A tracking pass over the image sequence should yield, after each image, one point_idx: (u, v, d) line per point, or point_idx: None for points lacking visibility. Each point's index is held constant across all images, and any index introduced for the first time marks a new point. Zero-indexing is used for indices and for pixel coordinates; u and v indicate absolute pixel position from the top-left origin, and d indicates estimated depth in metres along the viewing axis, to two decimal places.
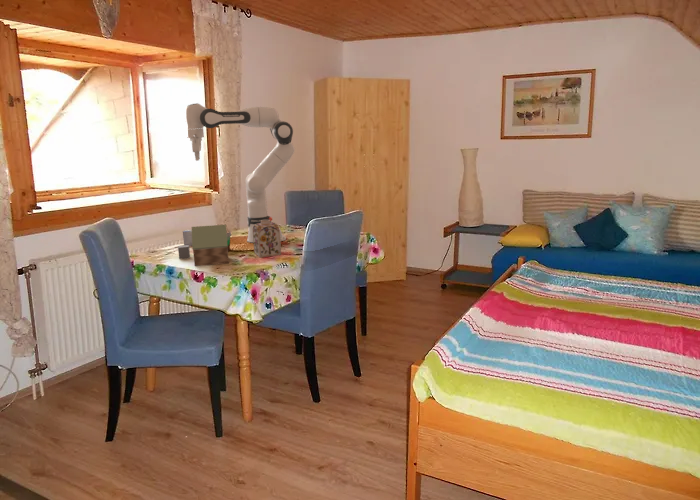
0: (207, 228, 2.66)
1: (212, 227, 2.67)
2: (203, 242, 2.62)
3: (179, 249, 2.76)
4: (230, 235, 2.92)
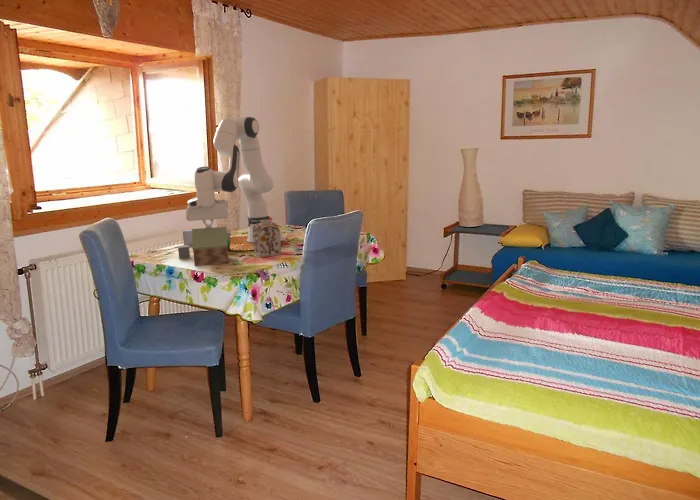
0: (207, 230, 2.68)
1: (212, 229, 2.68)
2: (203, 243, 2.63)
3: (179, 249, 2.76)
4: (230, 235, 2.92)
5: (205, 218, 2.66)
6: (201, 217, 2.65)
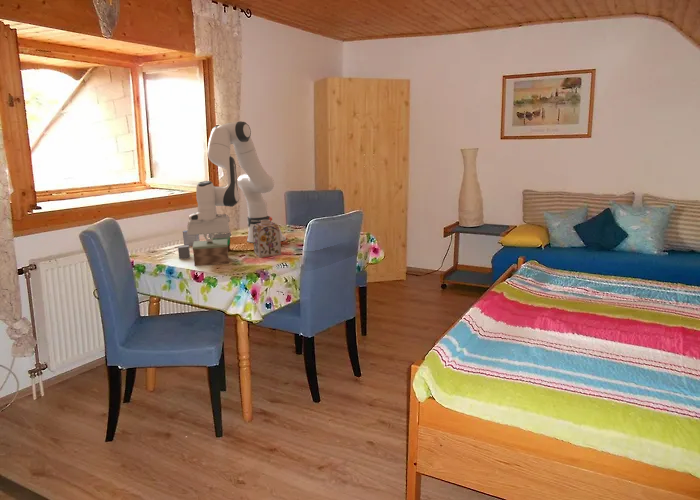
0: None
1: (213, 240, 2.73)
2: (204, 245, 2.64)
3: (179, 249, 2.76)
4: (230, 235, 2.92)
5: (206, 232, 2.66)
6: (202, 231, 2.65)
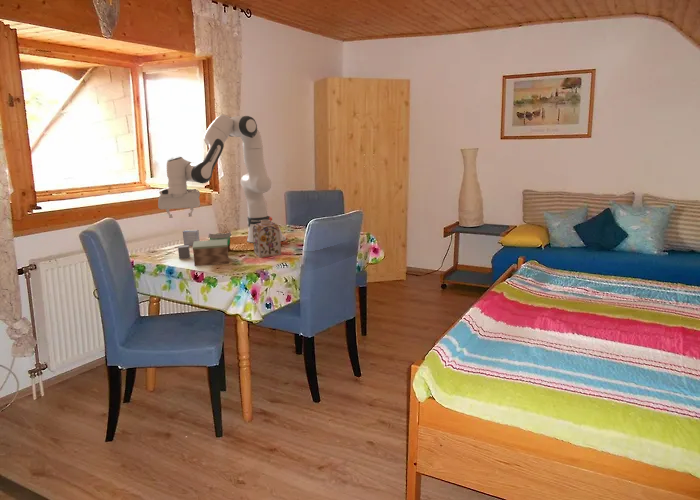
0: (209, 241, 2.72)
1: (213, 240, 2.73)
2: (204, 245, 2.64)
3: (179, 249, 2.76)
4: (230, 235, 2.92)
5: (177, 207, 2.72)
6: (173, 206, 2.72)
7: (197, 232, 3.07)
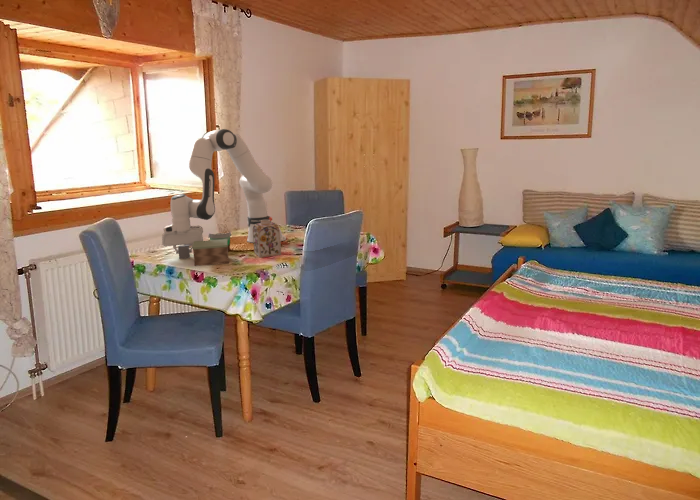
0: (209, 241, 2.72)
1: (213, 240, 2.73)
2: (204, 245, 2.64)
3: (179, 249, 2.76)
4: (230, 235, 2.92)
5: (180, 243, 2.77)
6: (177, 242, 2.76)
7: None
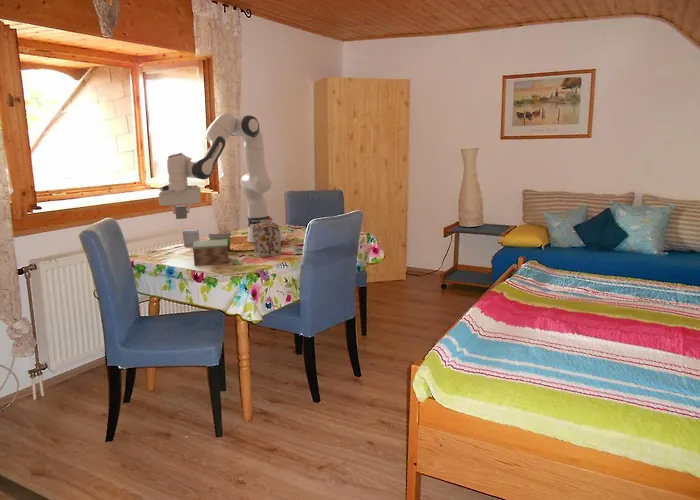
0: (209, 241, 2.72)
1: (213, 240, 2.73)
2: (204, 245, 2.64)
3: (176, 209, 2.71)
4: (230, 235, 2.92)
5: (177, 203, 2.72)
6: (173, 202, 2.71)
7: (197, 232, 3.07)
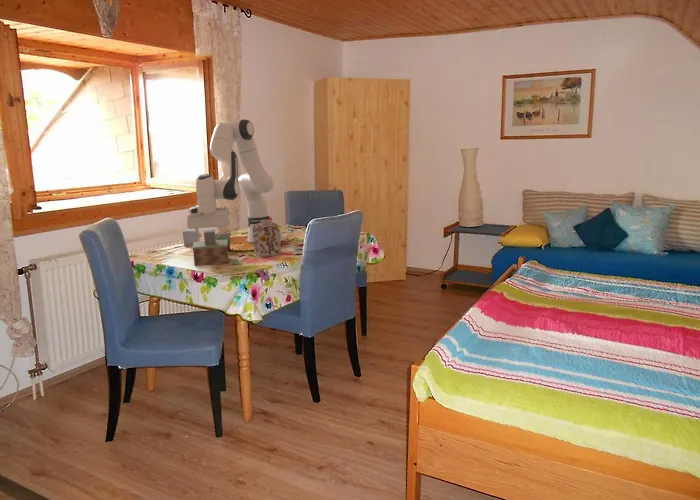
0: None
1: None
2: (204, 245, 2.64)
3: (205, 234, 2.64)
4: (230, 235, 2.92)
5: (206, 226, 2.64)
6: (202, 225, 2.63)
7: None
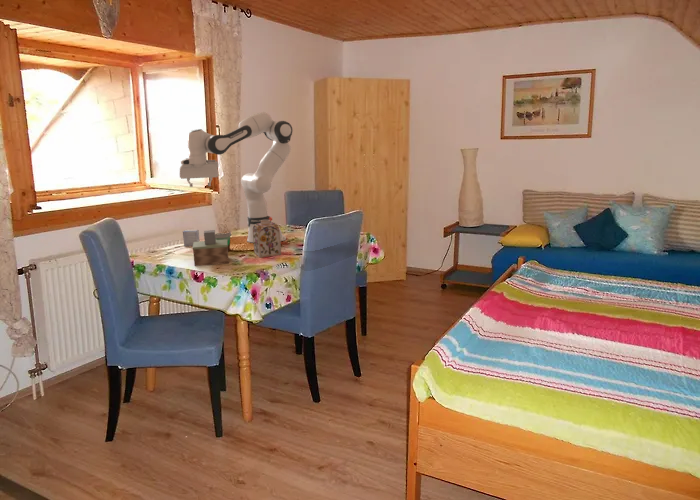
0: None
1: None
2: (204, 245, 2.64)
3: (205, 234, 2.64)
4: (230, 235, 2.92)
5: (197, 176, 2.91)
6: (193, 175, 2.90)
7: (197, 232, 3.07)
